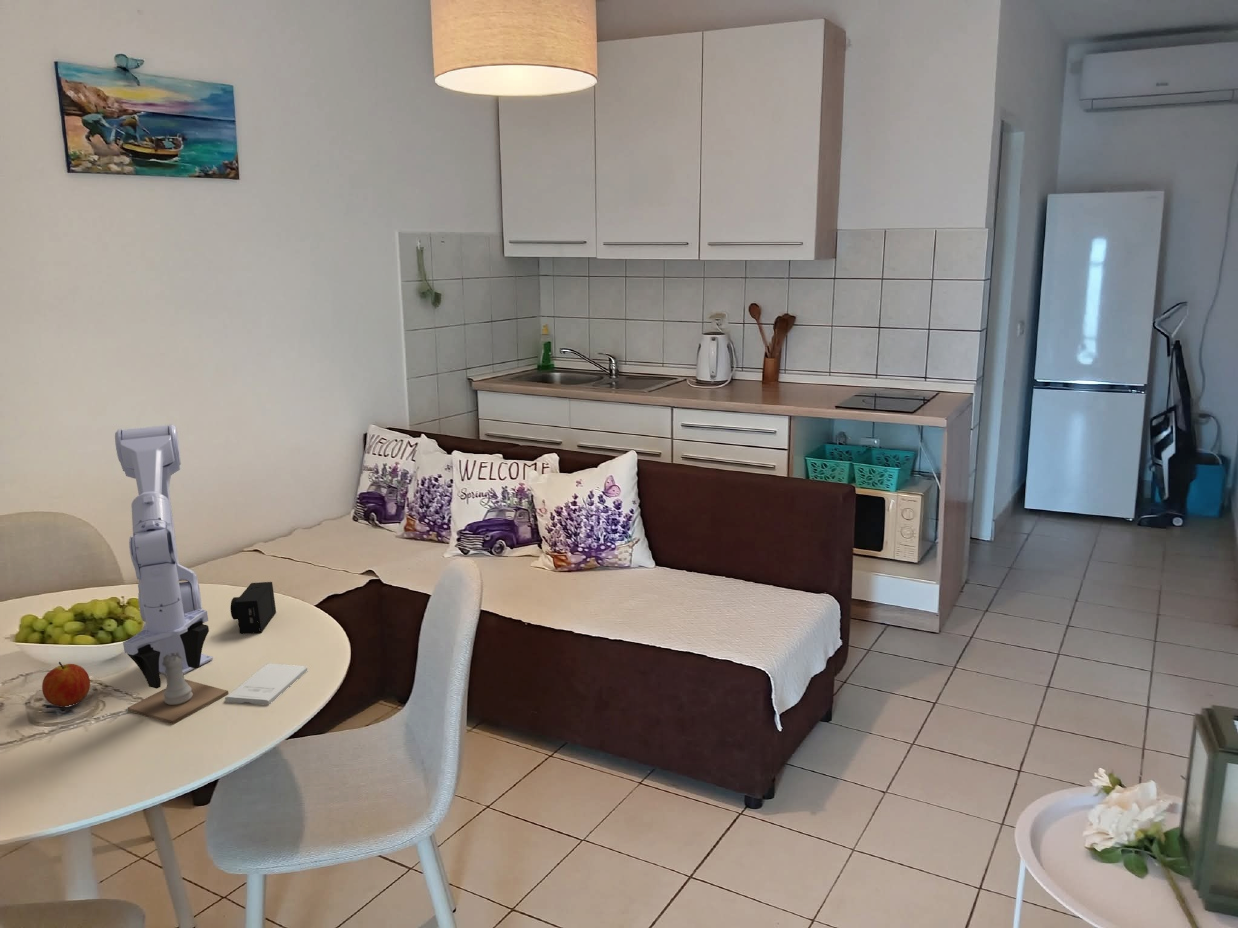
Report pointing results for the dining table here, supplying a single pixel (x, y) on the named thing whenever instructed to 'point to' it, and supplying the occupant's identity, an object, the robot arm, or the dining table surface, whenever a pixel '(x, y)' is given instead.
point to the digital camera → (254, 608)
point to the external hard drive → (266, 684)
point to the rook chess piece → (175, 681)
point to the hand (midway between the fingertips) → (174, 676)
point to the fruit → (66, 685)
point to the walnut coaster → (174, 713)
